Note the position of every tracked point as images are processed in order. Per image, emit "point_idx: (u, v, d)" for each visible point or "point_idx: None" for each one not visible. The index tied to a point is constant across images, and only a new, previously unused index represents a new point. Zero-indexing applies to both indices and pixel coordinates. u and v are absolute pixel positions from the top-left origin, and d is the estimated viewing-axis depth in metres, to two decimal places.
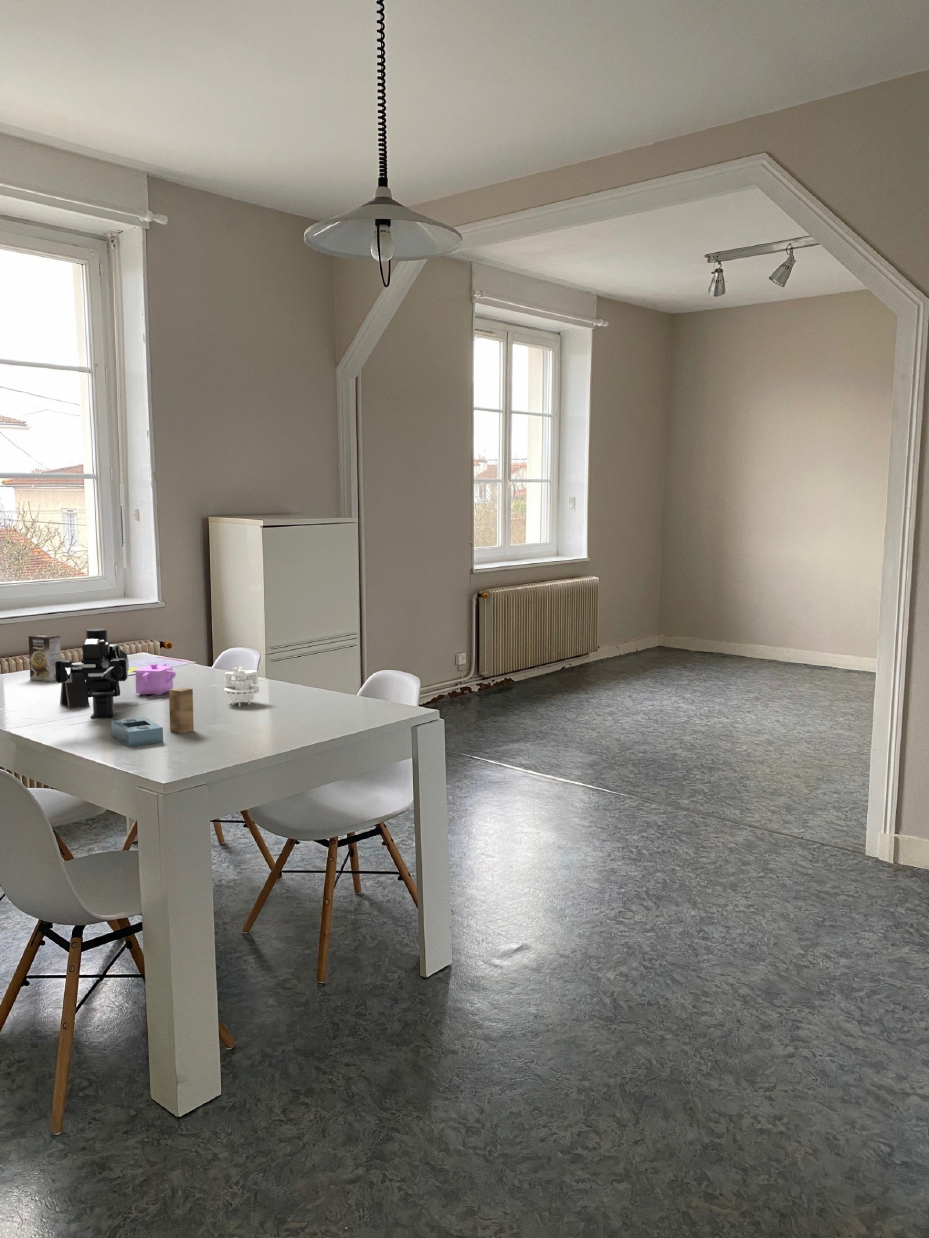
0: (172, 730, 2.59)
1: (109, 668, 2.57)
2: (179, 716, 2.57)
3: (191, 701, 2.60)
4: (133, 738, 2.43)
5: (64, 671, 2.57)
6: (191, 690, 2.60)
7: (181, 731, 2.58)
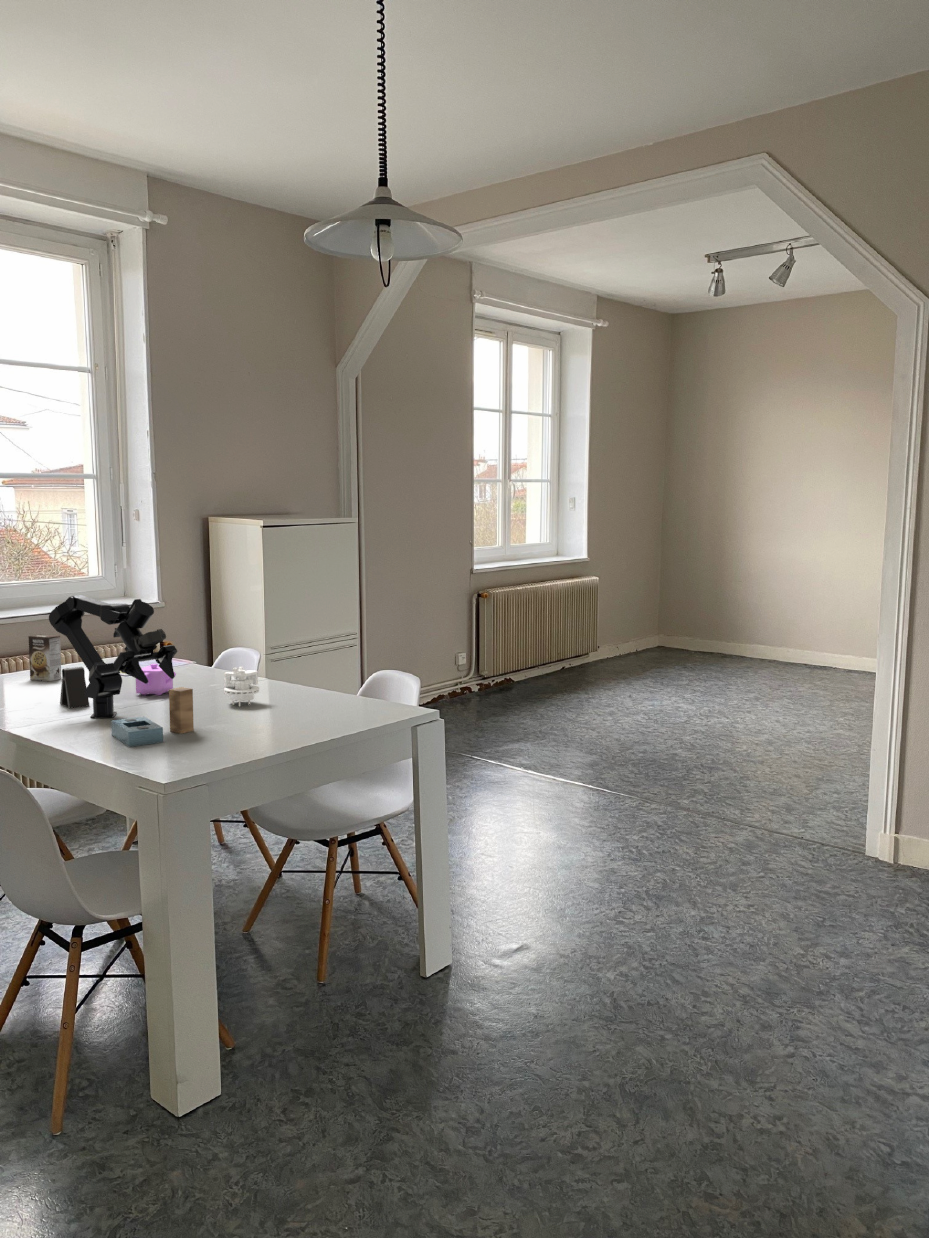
0: (172, 730, 2.59)
1: (170, 664, 2.68)
2: (179, 716, 2.57)
3: (191, 701, 2.60)
4: (133, 738, 2.43)
5: (129, 665, 2.59)
6: (191, 690, 2.60)
7: (181, 731, 2.58)
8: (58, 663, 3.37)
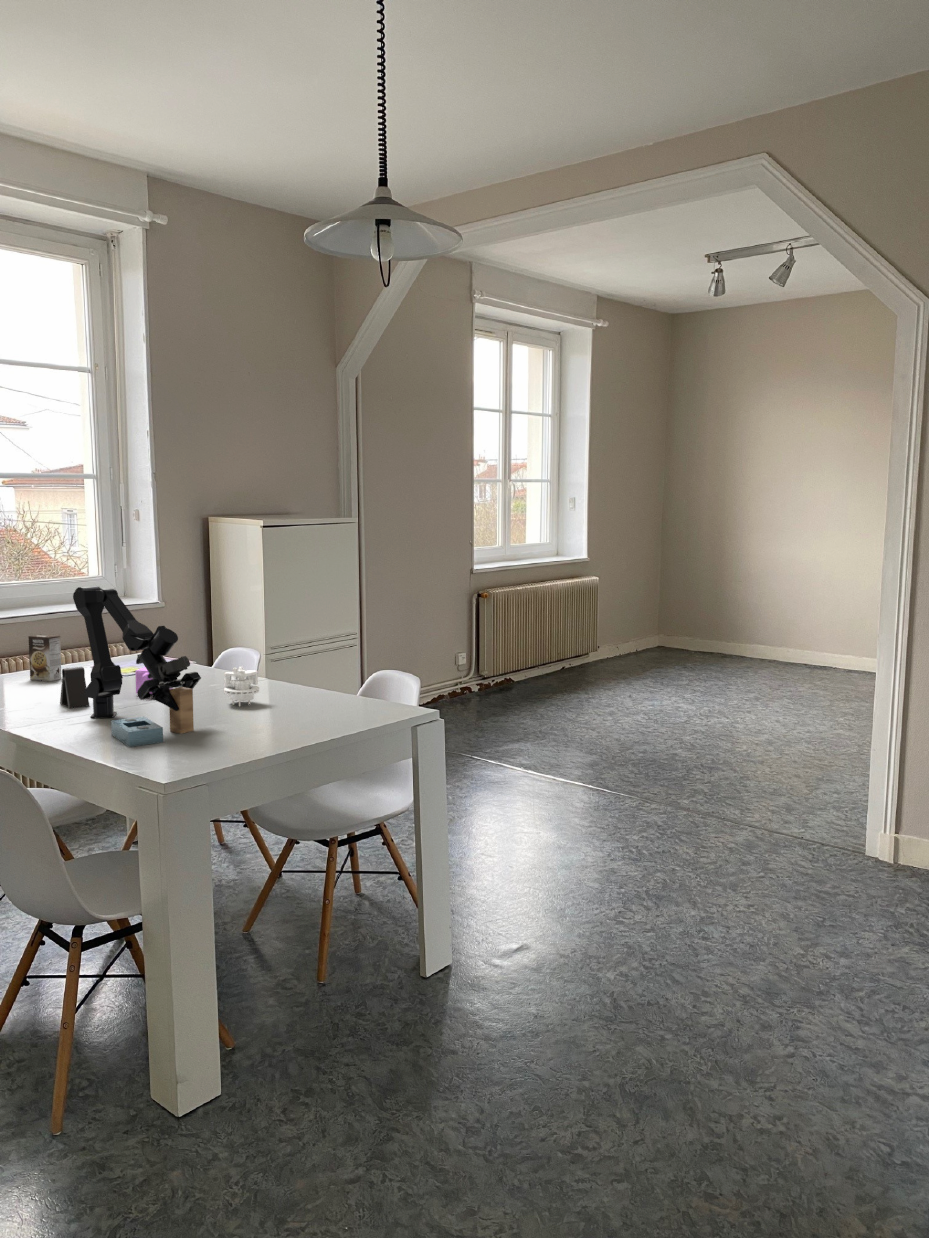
0: (172, 730, 2.59)
1: None
2: (179, 716, 2.57)
3: (191, 701, 2.60)
4: (133, 738, 2.43)
5: (160, 692, 2.57)
6: (191, 690, 2.60)
7: (181, 731, 2.58)
8: (58, 663, 3.37)
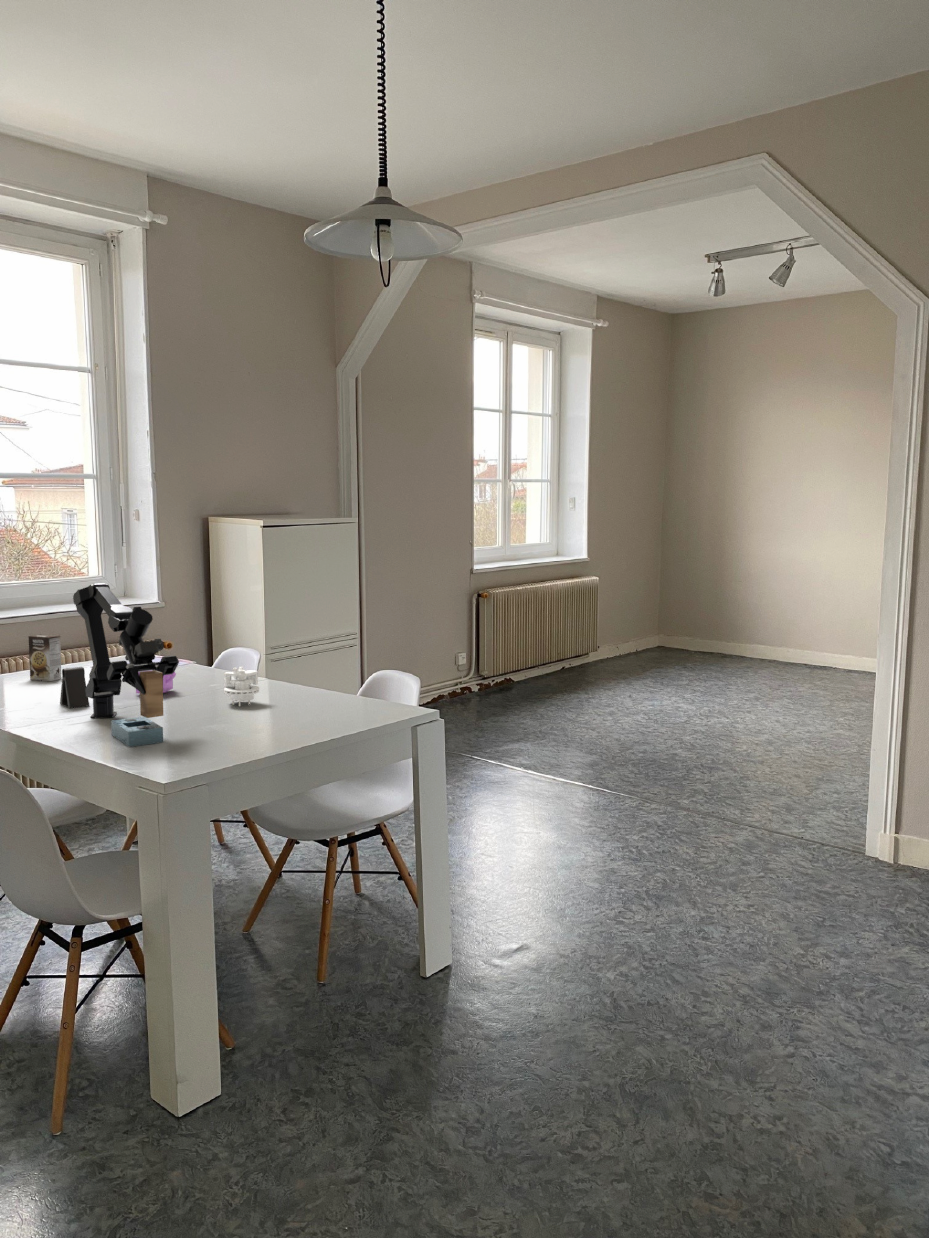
0: (142, 714, 2.53)
1: None
2: (146, 700, 2.50)
3: (160, 685, 2.52)
4: (133, 738, 2.43)
5: (129, 675, 2.51)
6: (160, 674, 2.52)
7: (148, 715, 2.51)
8: (58, 663, 3.37)
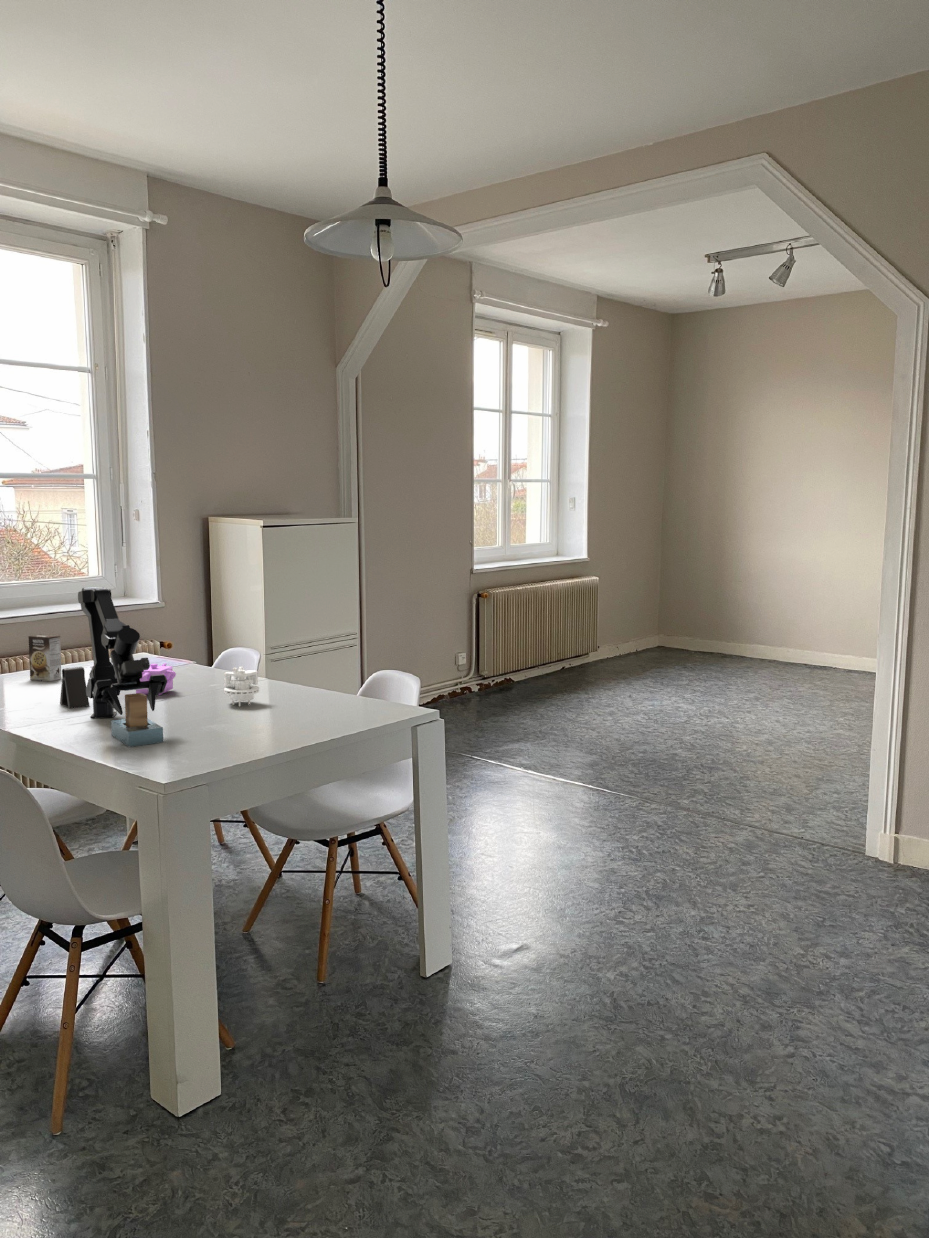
0: None
1: (153, 695, 2.54)
2: (130, 723, 2.48)
3: (145, 708, 2.50)
4: (133, 738, 2.43)
5: (108, 694, 2.49)
6: (145, 697, 2.50)
7: None
8: (58, 663, 3.37)
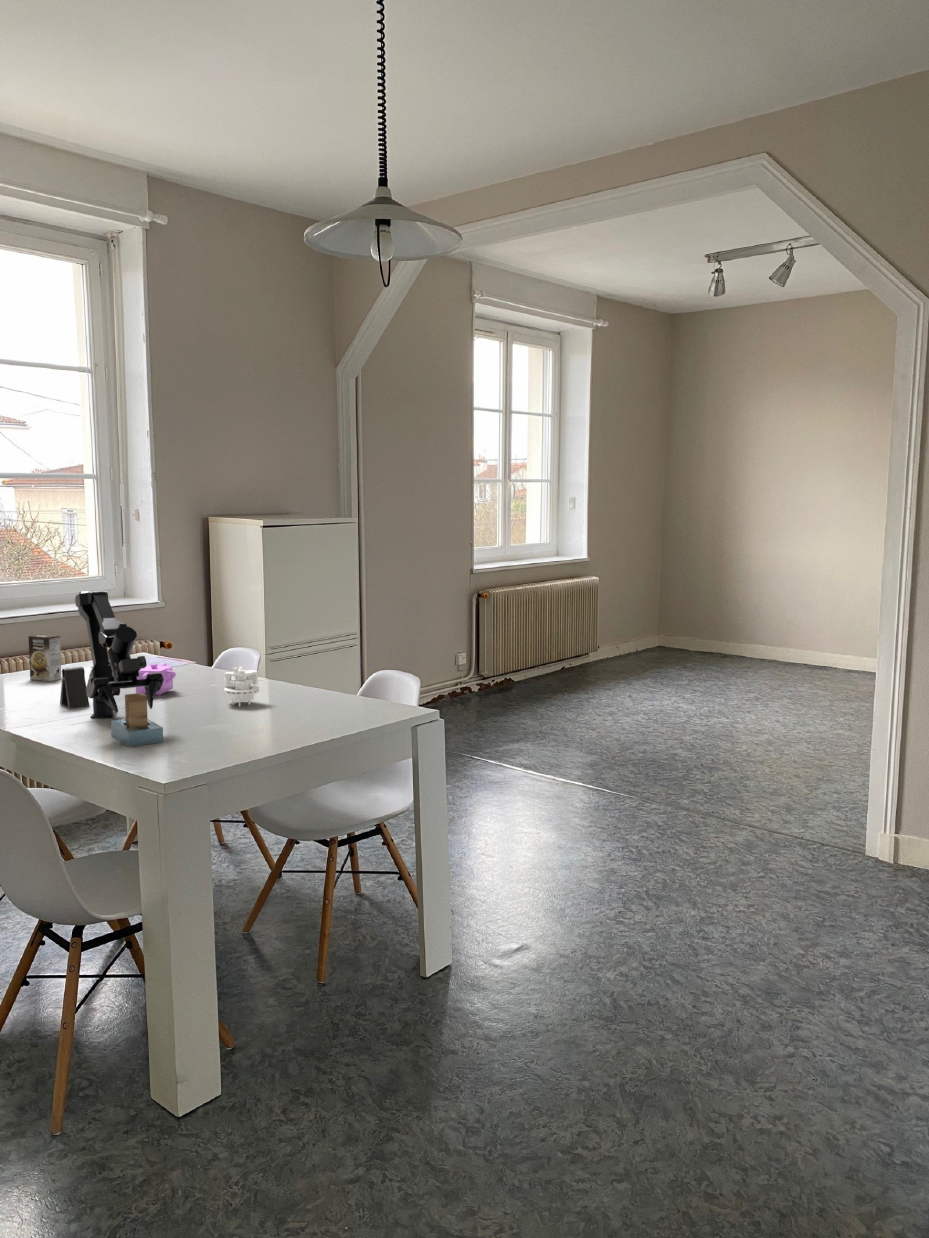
0: None
1: (151, 693, 2.56)
2: (130, 723, 2.48)
3: (145, 708, 2.50)
4: (133, 738, 2.43)
5: (103, 692, 2.51)
6: (145, 697, 2.50)
7: None
8: (58, 663, 3.37)
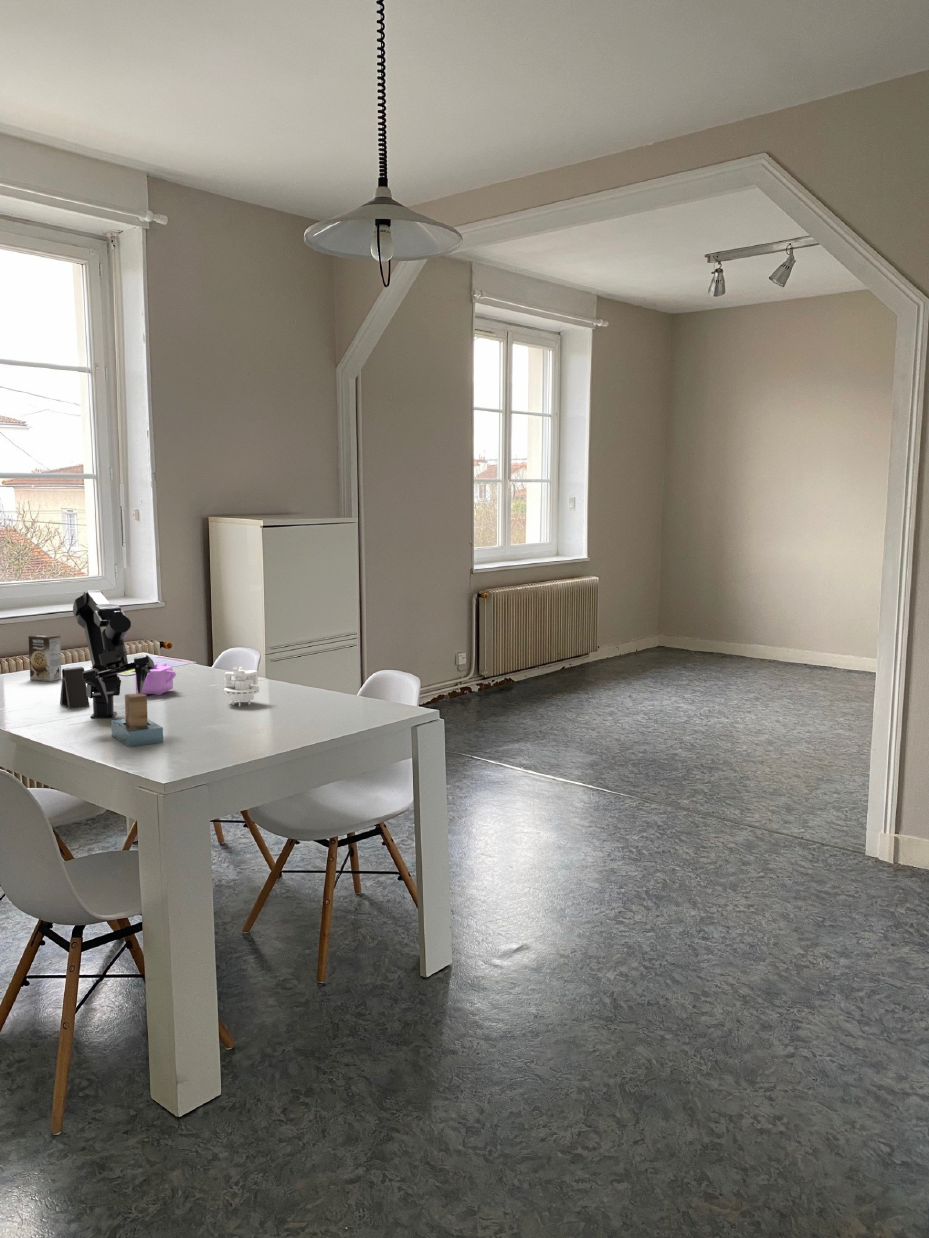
0: None
1: (138, 678, 2.59)
2: (130, 723, 2.48)
3: (145, 708, 2.50)
4: (133, 738, 2.43)
5: None
6: (145, 697, 2.50)
7: None
8: (58, 663, 3.37)
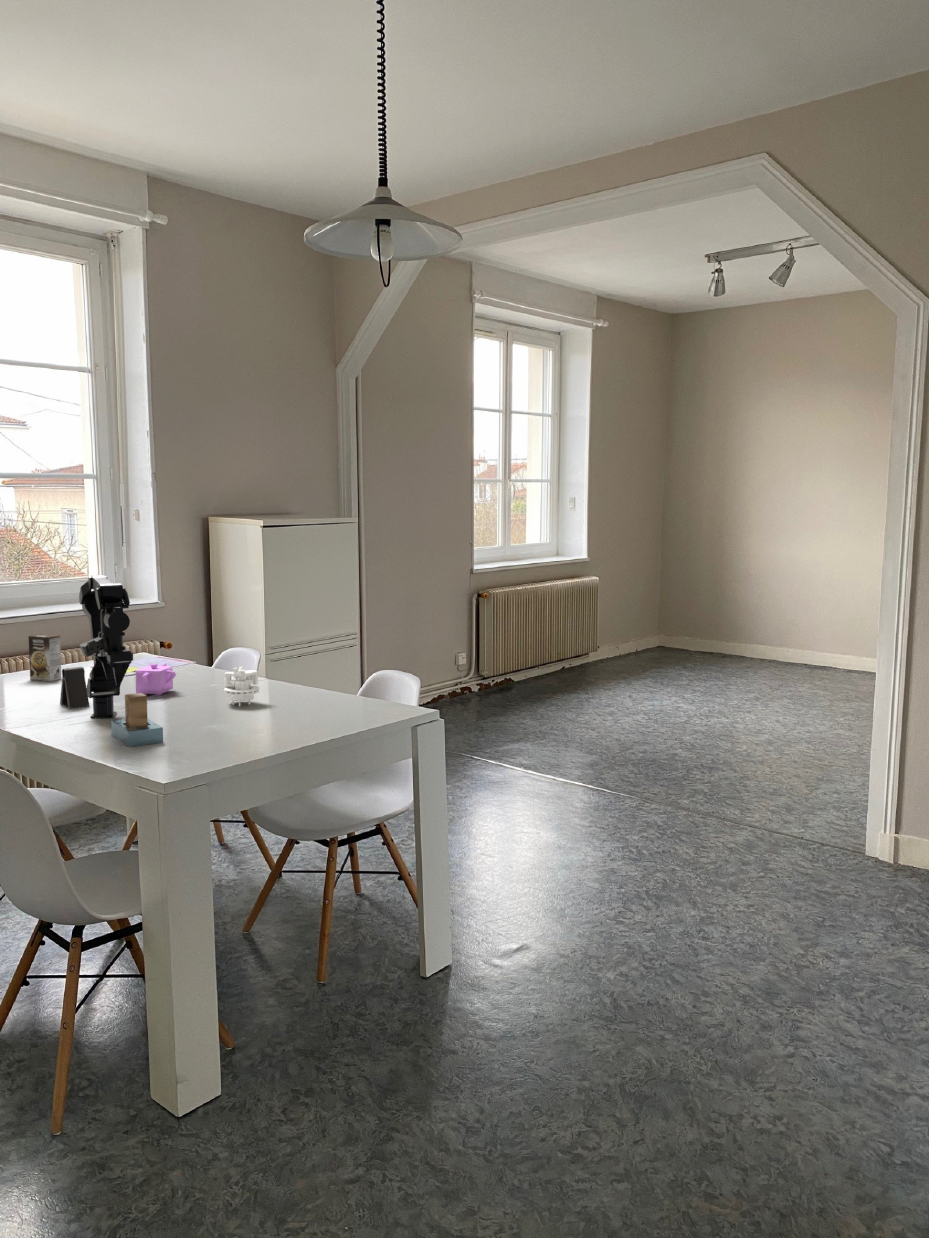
0: None
1: (114, 671, 2.57)
2: (130, 723, 2.48)
3: (145, 708, 2.50)
4: (133, 738, 2.43)
5: None
6: (145, 697, 2.50)
7: None
8: (58, 663, 3.37)
